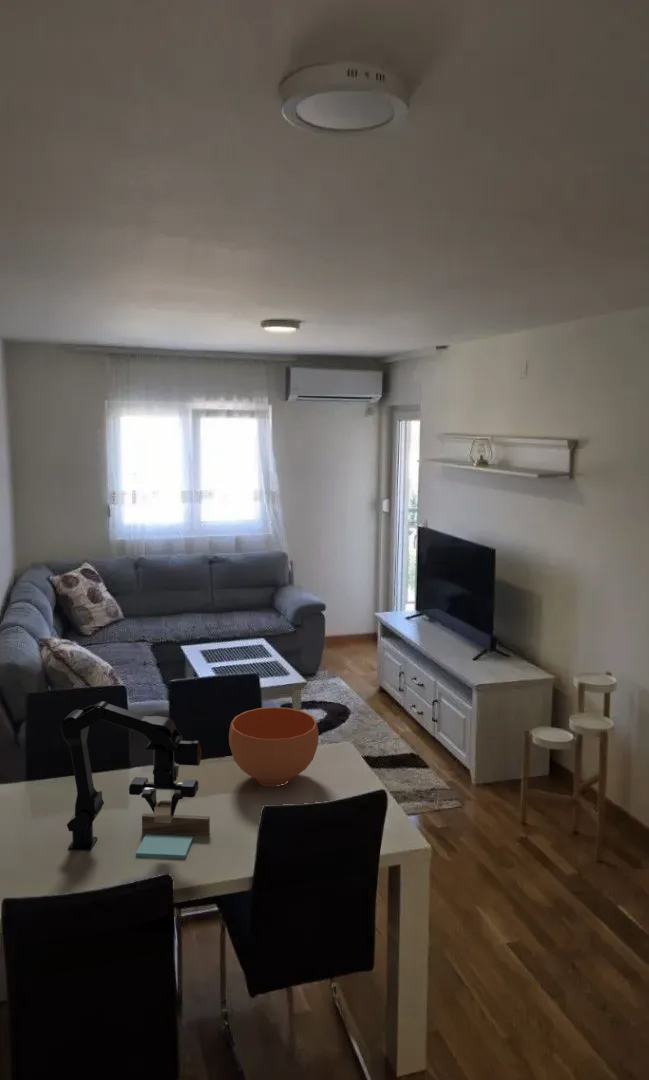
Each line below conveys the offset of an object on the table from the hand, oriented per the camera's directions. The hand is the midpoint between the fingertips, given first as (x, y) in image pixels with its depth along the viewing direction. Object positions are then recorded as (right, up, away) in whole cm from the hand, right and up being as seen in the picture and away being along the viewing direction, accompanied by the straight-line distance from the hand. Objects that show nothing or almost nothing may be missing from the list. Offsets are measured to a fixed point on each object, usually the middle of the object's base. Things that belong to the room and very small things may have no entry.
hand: (164, 815), depth 224 cm
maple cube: (0, -1, 0) cm, 1 cm away
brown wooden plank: (+1, -9, +10) cm, 14 cm away
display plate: (0, -10, +1) cm, 10 cm away
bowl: (+28, -4, +46) cm, 54 cm away
